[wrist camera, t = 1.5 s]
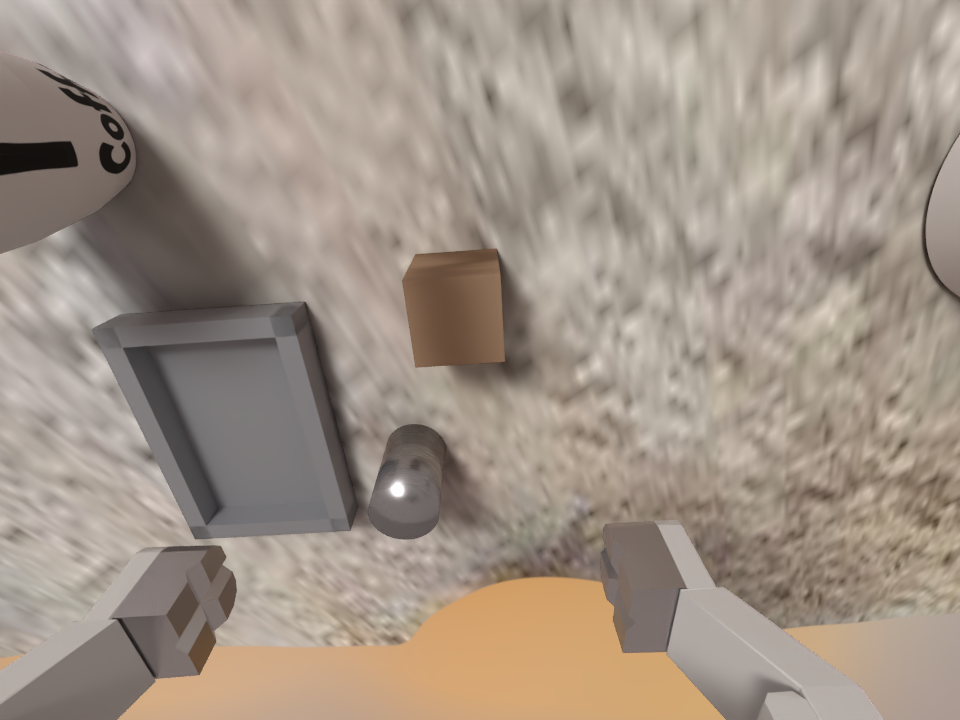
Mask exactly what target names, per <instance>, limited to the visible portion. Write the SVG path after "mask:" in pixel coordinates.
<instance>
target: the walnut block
mask: <svg viewBox="0 0 960 720" xmlns="http://www.w3.org/2000/svg"><path fill="white" fill-rule="evenodd" d="M402 282H403V289H404V296H405V302H406V309H407V315H408V322H409V328H410V335H411V341H412V348H413V354H414V361H415V367H431V366H447V365H462V364H477V363H493V362H505V351H504V332H503V313H502V294H501V275H500V268H499V261H498V255H497V249H483V250H470V251H456V252H442V253H429V254H415V256H414V258H413V260H412V262H411V264H410V266H409V268H408V270H407V272H406V274H405V276H404V278H403V280H402Z"/></svg>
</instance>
